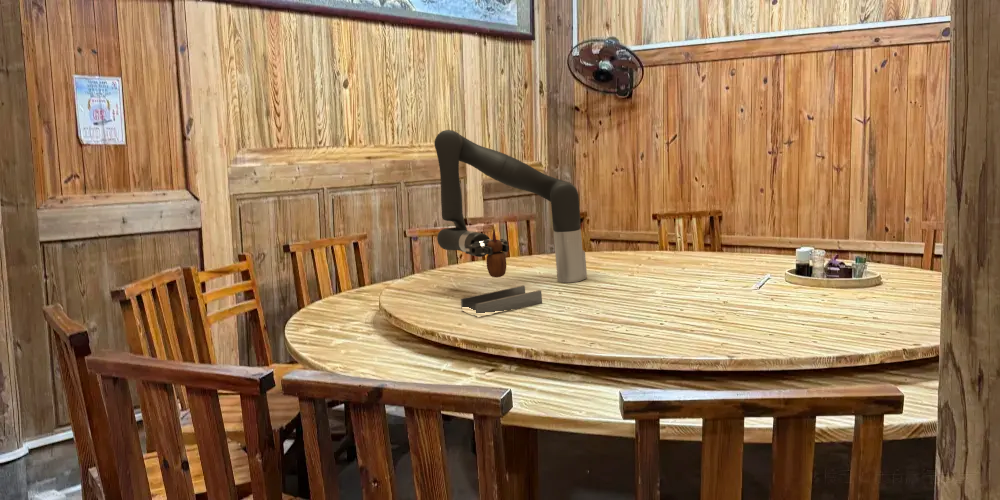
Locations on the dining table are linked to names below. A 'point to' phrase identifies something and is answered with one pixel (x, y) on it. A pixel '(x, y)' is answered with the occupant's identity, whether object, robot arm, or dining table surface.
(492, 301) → the sliding track
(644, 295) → the dining table surface
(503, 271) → the wooden figurine
